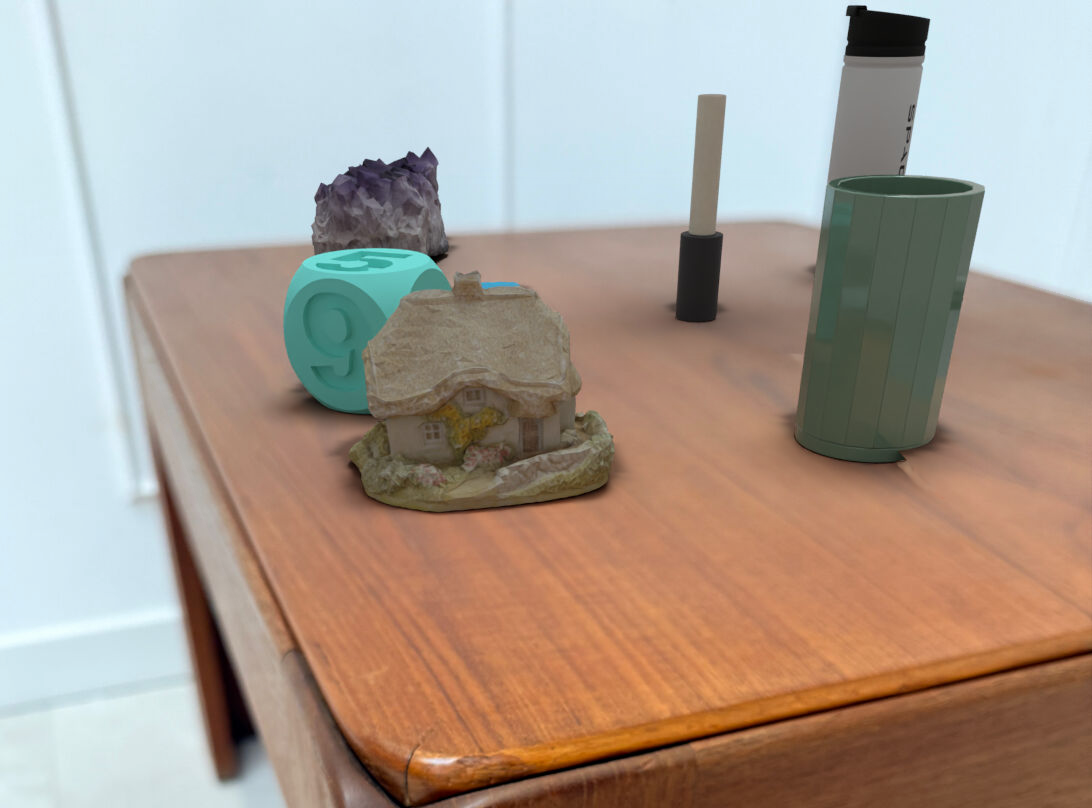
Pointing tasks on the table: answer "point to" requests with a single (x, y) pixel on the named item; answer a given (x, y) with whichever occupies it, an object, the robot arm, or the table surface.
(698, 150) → the marker
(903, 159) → the travel mug
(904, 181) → the green pencil cup
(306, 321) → the decorative dice
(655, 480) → the table surface
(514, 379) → the ceramic model
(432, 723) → the table surface
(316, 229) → the geode
